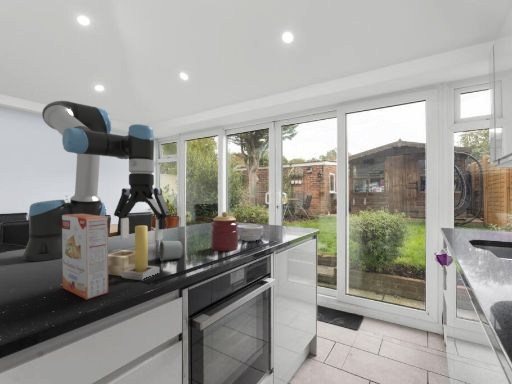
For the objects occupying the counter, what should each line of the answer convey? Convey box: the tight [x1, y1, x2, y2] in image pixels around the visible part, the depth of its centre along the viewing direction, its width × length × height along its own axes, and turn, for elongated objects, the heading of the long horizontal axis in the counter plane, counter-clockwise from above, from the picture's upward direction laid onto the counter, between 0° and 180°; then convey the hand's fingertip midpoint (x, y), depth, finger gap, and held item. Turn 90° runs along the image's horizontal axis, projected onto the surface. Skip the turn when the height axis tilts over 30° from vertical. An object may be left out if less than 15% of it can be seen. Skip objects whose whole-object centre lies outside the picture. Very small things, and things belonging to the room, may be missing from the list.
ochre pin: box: [134, 225, 149, 272], centre depth 88 cm, size 4×4×16 cm
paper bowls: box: [237, 224, 264, 242], centre depth 152 cm, size 15×15×8 cm
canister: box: [210, 211, 239, 252], centre depth 129 cm, size 13×13×18 cm
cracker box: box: [62, 214, 109, 300], centre depth 73 cm, size 14×6×21 cm, turn 56°
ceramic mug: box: [158, 240, 184, 262], centre depth 110 cm, size 11×8×8 cm
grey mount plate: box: [121, 265, 160, 281], centre depth 88 cm, size 8×8×2 cm
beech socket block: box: [108, 249, 135, 277], centre depth 92 cm, size 9×9×6 cm
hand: (141, 238), depth 87 cm, fingers open, 13 cm apart
